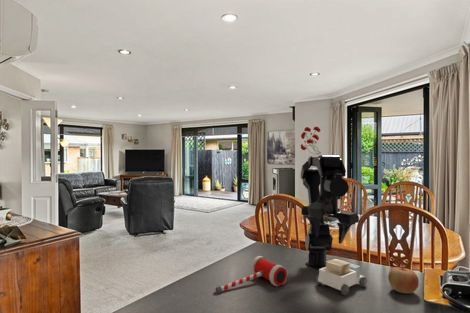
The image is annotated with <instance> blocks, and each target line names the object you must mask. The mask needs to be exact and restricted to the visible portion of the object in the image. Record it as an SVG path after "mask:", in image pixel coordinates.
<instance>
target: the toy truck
mask: <svg viewBox="0 0 470 313" xmlns="http://www.w3.org/2000/svg"><path fill="white" fill-rule="evenodd" d="M349 263H350V262H349ZM367 283H368V279H367V277H365V275H362V274H361V266H360V265H357V264H355V263H354V264H353V263H350V267H349V274H346V275H343V276H339V275H336V274H333V273H331V272H328V271H326V267H324V268H321V269H318V275H316V278H315V284H316V285H319V286H321V285H322V284H324V285H326V286H329V287H331V288H333V289H335V290H338V291H340V292H341V295H342V296H348V295H349V292H350V287H351V286H355V285H357V284H359V286H360V287H362V288H365V287H366V286H367Z"/></svg>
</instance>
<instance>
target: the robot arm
mask: <svg viewBox="0 0 470 313" xmlns="http://www.w3.org/2000/svg"><path fill="white" fill-rule="evenodd" d="M346 173H347V169H346V167H345V163H344V162H343V159H342V158H341V156H340V155H338V154H334V155H333V154H320V155H311V156H308V159H307V161H306V162H304V164H302V165H301V170H300V179H301V181H302V185H303V186H304V187H305V188H306V189H307V198H308V205H305V206H302V208H301V210H300V211H301V215H302V216H304V218H305V219H307V220H308V222H310V226H309V228H308V230H307V234H306V237H305V240H304V243H305V248H306V250H307V251H308V261H306V262H305V265H307V266H309V267H311V268H315V269H318V270H319V269H321V268H324V267H326V261H327V251H332V248H333V247H332V246H333V245H332V244H333V239H334V238H333V236H332V234H331V230H330V225H329V224H327V223H325V221H324V217H328V218H334V219H337V221H338V222H336V225H337V227H338V243H339V244H342V243H343V241H344V239H345V237H346V235H347V233H348V232H349V230H350V229H351V227H352V225H355V224H356V223H359V222H360V216H359V213H357V212H352V211H343V212H342V211H341V208H339V200H341V197H344V196H346V195H347V194H348V192H349V189H350V187H349V186H350V185H349V184H348V182H347V180H345V179H344V178H343V177H346Z"/></svg>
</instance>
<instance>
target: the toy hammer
mask: <svg viewBox="0 0 470 313" xmlns="http://www.w3.org/2000/svg"><path fill="white" fill-rule="evenodd" d="M250 270H251V272H252V274H250V275H248V276H247V275H246V276H245V277H242V278H240V279H238V280H235V281H233V282H230V283H226V284H225V285H221V286H220V285H219V286H216V287H215V293H216V294H218V295H219V294H221V293H222V294H223V292H224V291H227V290H230V289H232V288H234V287H237V286H240V285H241V284H244V283H247V282H249V281H252V280H254V279H255V280H256V279H257V278H259V277H262V278H264V279H265V280H268V281H269V282H270V284H271V285H273V286H275V287H279V286H283V285H284V284H285V283H286V282H287V279H288V275H289V274H288V269H287V267H285V266H283V265H281V264H276V263H273V262H271V261H268V259H267V258H266V257H264V256H261V255H258V256H256V257H255V258H253V259H252V262H251V264H250Z"/></svg>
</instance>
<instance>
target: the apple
mask: <svg viewBox="0 0 470 313" xmlns="http://www.w3.org/2000/svg"><path fill="white" fill-rule="evenodd" d="M400 266H401V267H399V266H395V267H392V268H391V269H390V271H389V272H388V277H387V278H388V282H389V284H390V287H391V288H392V289H393V290H395V292H398V293H400V294H412V293H414V292H416V290H417V289H418V288H419V284H420V283H419V281H420V280H419V277H418V276H417V274H416V272H415V271H413V270H412V269H409V268H404V267H403V264H401V265H400Z"/></svg>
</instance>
